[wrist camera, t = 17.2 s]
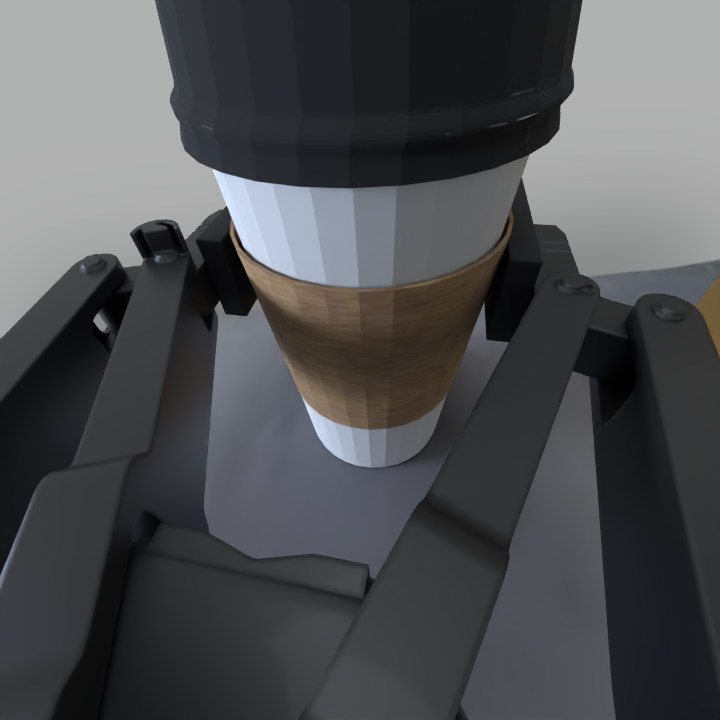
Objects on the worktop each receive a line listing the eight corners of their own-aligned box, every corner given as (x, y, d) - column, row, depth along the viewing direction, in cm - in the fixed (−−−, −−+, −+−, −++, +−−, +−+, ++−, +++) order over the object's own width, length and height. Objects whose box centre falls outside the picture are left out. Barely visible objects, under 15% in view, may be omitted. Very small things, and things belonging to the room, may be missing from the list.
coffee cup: (340, 332, 22) (296, -49, 11) (484, 379, 19) (632, -74, 8) (250, 448, 17) (-9, -37, 6) (427, 535, 14) (611, -93, 3)
